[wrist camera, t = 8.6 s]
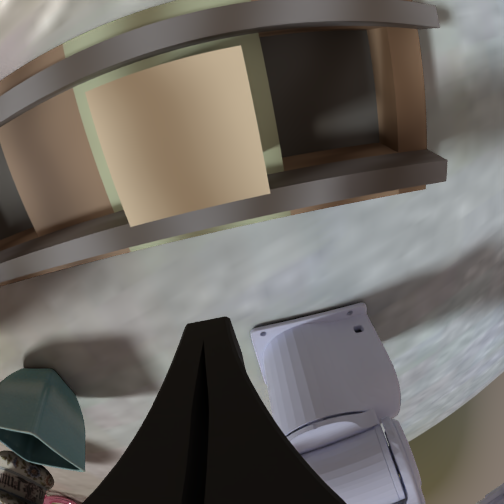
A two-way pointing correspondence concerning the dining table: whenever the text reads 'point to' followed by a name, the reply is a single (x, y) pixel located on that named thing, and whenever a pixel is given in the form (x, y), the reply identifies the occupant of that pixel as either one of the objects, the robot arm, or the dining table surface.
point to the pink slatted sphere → (55, 498)
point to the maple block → (181, 136)
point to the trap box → (266, 110)
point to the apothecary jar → (22, 480)
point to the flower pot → (42, 419)
